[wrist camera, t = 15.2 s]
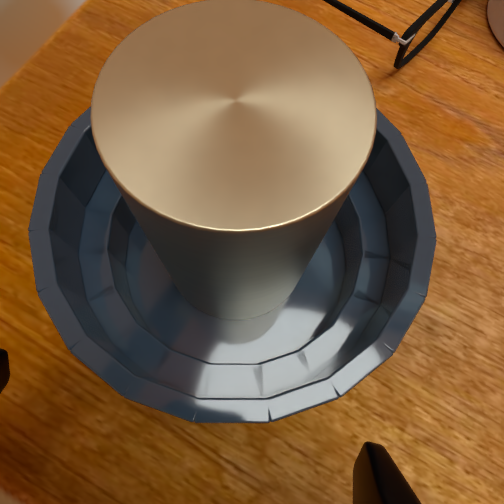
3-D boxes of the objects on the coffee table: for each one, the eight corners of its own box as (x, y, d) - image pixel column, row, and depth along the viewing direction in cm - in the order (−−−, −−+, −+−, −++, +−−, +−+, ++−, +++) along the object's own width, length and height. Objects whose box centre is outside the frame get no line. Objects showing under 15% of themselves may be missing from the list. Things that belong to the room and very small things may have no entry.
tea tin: (308, 318, 15) (399, 230, 7) (165, 322, 15) (72, 235, 6) (298, 192, 17) (358, -1, 9) (171, 193, 17) (104, -4, 8)
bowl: (196, 479, 14) (171, 538, 9) (50, 233, 18) (-38, 160, 12) (426, 296, 17) (518, 252, 12) (265, 111, 20) (276, 4, 15)
